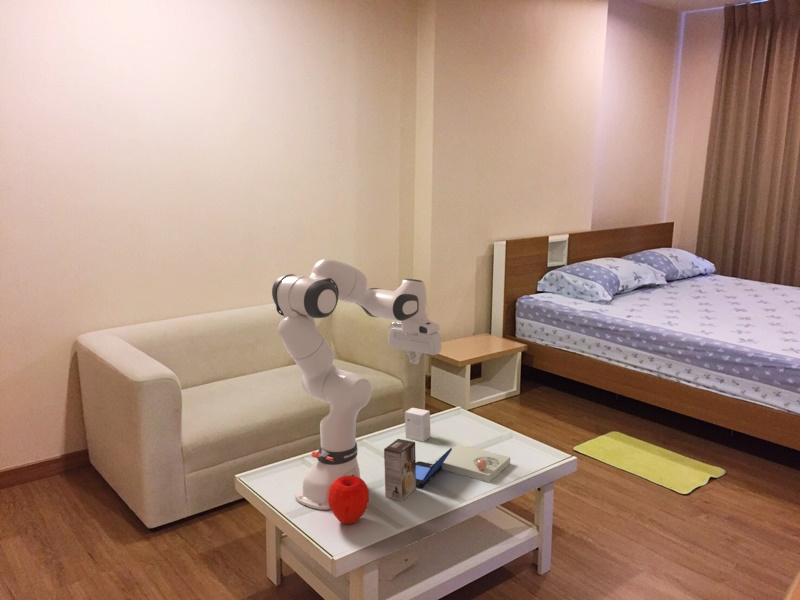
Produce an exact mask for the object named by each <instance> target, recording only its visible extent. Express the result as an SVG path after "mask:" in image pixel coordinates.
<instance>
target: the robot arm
mask: <svg viewBox="0 0 800 600" xmlns="http://www.w3.org/2000/svg"><path fill="white" fill-rule="evenodd" d="M271 295H272V300H273V302H274V305H275V308H276V311H277V313H278V314H279V315H280V316H283V317H282V319H281V320H280V322H279V324H278V326H277V332H278V335H279V338H280V340H281V342H282V344H283V346H284V347H285V350H286V351H287V353H288V354H289V356H290V357H291V358H292V359H293V361H294V362H295V364H296V365H297V366H298V367H299V369H300V370H301V372H302V378H301V387H302V389H303V391H304V392H305V393H306V394H307V395H309V396H310V397H312V398H314V399H315V400H319V401H321V402H325V403H328V404H329V406H330V408H329V413H328V414H327V415H326V416H324V417H323V418H322V419H321V420H320V424H319V430H320V431H319V432H320V434H319V436H320V445H319V447H318V451H316V450H313V451H312V452H311V457H312V458H315V459H316V460H315V461H314V463H313V465H312V466H311V468H310V469H309V470H308V472H307V473H306V475H305V476H304V478H303V481H302V489H300V490H299V491H298V492H297V493H296V494H294V495H295V497H294V498H296V499H295V500H296V501H297V502H298V503H299V504H301V505H303V506H305V505H306V507H309V508H312V509H314V510H321V511H322V510H323V511H324V510H325V511H327V510H331V508H330V506H329V503H328V494H329V489H330V487H331V485H332V484H333V482H334V481H335V480H336V479H338V478H340V477H343V476H356V477H359V478H361V471H360V465H359V463H358V459H357V456H358V443H357V441H356V440H357V439H356V422H357V418H358V414H359V412H360V410H362V409H363V408H364V407H366V406H367V404H369V402H370V399H371V397H372V385H371V383H370V381H369V380H368V379H366V378H365V377H363V376H362V375H360V374H358V373H356V372H351V371H348V370H344V369H341V368H339V367H338V366H336V365H335V364H334V361H335V360H334V359H335V352H334V349H333V348H332V347H331V346H330V343H329V342H328V341H327V339H326V338H325V337H324V335H323V334H322V332H321V331H320V330H319V328H318V327H317V325H316V323H315V319H322V318H323V319H324V318H327V317H329V316H330V315H332V314H333V313H334V312H335V310H336V308H337V305H338V303H339V302H338V301H340V302H344V303H349V304H356V305H358V306H359V307H361V308H362V310H363V311H364V312H365V313H366V314H367V315H368V316H370V317H371V318H381V319H387V320H392V321H393V322H392V323H390V324H389V325H388V331H389V333H388V339H387V340H388V341H387V342H388V343H387V344H388V347H389V348H390V349H395V350H403V351H406V355H407V356H408V359H409V363H410V364H414V365H418V364H419V363H420V358H421V356H422V355H423V354H425V355H431V356H436V355H439V354H440V353H441V351H442V338H441V334H440V332H439V331H440V325H439V324H437V323H435V322H433V321H432V320H431V319H428V318H427V312H426V307H427V289H426V285H425V282H424V281H422V280H420V279H413V278H404V279H402V281H401V284H400V286H399V287H398V288H397V289H395V290H388V289H383V288H378V287H371V288H368V279H367V277H366V275H365V274H364V273H363V272H362V271H360V269H357V268H356V267H354V266H352V265H349V264H347V263H345V262H344V261H343V262H342V261H339V260H336V259H331V258H323V259H320V260H318V261H317V262H316V263H315V264H314V265H313V267H312V269H311V272H310V275H309V276H306V275H297V274H284V275H281V276H279V277H278V278H277V279H276V280H275V281H274V283H273V285H272V289H271ZM397 321H398V322H397ZM413 353H415V357H414V355H413ZM361 479H362V478H361Z"/></svg>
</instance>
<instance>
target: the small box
mask: <svg viewBox="0 0 800 600" xmlns="http://www.w3.org/2000/svg"><path fill="white" fill-rule="evenodd" d="M404 421H405V422H404V423H405V424H404V425H405V426H404V427H405V430H404V431H405V438H406V439H410V440H414V441H419V442H425V441H426V440H428V439H429V438H430V437H431V411H430V410H427V409H421V408H416V407H411V408H409V409H407V410H406V411H405V412H404Z"/></svg>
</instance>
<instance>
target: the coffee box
mask: <svg viewBox="0 0 800 600" xmlns="http://www.w3.org/2000/svg"><path fill="white" fill-rule="evenodd" d="M383 457H384V458H383V460H384V461H383V462H384V489H385V490H384V491H385V498H389V499H393V500H396V501H401V502H403V501H404V500H405V499H406V498H408V497H409V496H410V495H411V494H412V493H413V492H415V490H417V488H416V462H417V461H416V441H411V440H406V439H400V438H397V439H396V440H394V441H393V442H392V443H391V444H389V445H388V446H386V447H385V448H384V449H383Z"/></svg>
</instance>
